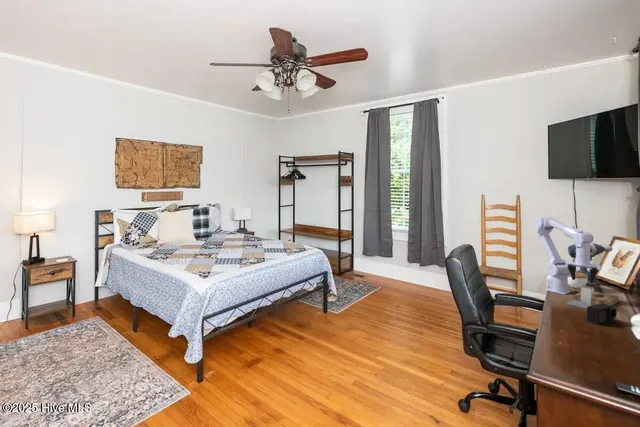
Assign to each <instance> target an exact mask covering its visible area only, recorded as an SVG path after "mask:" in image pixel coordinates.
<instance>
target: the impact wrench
mask: <svg viewBox="0 0 640 427" xmlns="http://www.w3.org/2000/svg"><path fill="white" fill-rule="evenodd" d="M612 251H613V247H612V246H611V245H607V246H606V245H605V246H602V244H598V243H594V242H591V243H590V262H591V261H593V258H594V257H596V256H598V255H601V254H603V252H606V253H609V252H612ZM567 252H568V254H569V255H568V256H570V257H571V258H572V259H576V245H575V244H570V245H568V247H567ZM585 267H587V266H585ZM576 271H577V272H578V273H583V274H586V275H588V281H587V285H586V286H597V285H598V283H599V279H598V277H597V276H595V278H594V282H593V283H590V270H588V268H584V267H579V269H578V270H576Z"/></svg>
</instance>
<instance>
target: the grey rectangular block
mask: <svg viewBox="0 0 640 427" xmlns="http://www.w3.org/2000/svg"><path fill="white" fill-rule="evenodd" d="M580 292H581V305H583V306H592V305H594V292H595V287H593V286H589V285H585V286H583V287H581V288H580Z"/></svg>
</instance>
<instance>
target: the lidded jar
mask: <svg viewBox="0 0 640 427" xmlns="http://www.w3.org/2000/svg"><path fill="white" fill-rule="evenodd" d="M577 271H578V270H576V271H575V280H572V276H571V274H570V275H569V277H568V287H570V286H571V287H570V288H572V287H574V288H573V289H581V287H583V286H587V285H586V284H587V281H588V275H586V274H583V273H578V272H577Z"/></svg>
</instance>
